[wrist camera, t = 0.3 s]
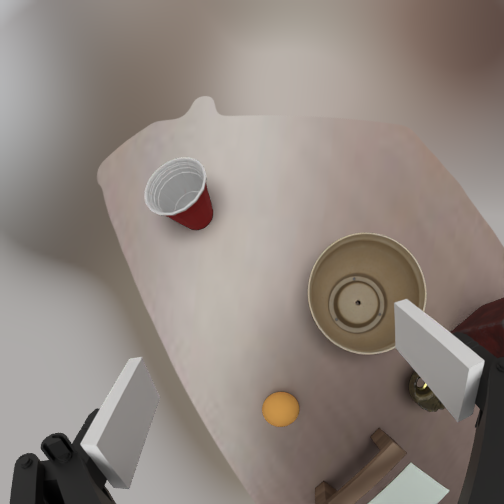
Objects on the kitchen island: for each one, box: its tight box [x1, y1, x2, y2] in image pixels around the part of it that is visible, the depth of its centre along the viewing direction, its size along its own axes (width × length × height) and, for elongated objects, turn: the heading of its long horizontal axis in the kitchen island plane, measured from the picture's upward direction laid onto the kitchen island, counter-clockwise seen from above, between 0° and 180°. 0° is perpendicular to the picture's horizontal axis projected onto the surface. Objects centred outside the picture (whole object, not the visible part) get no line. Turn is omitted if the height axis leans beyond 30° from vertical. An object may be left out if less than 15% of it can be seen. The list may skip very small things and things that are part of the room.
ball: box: [262, 392, 299, 427], centre depth 42 cm, size 6×6×6 cm
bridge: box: [315, 428, 407, 504], centre depth 35 cm, size 3×14×9 cm, turn 136°
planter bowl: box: [308, 233, 427, 355], centre depth 43 cm, size 16×16×11 cm
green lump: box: [409, 371, 445, 412], centre depth 38 cm, size 8×7×8 cm
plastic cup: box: [144, 157, 213, 230], centre depth 52 cm, size 11×11×12 cm
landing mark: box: [368, 462, 449, 504], centre depth 35 cm, size 12×12×1 cm
